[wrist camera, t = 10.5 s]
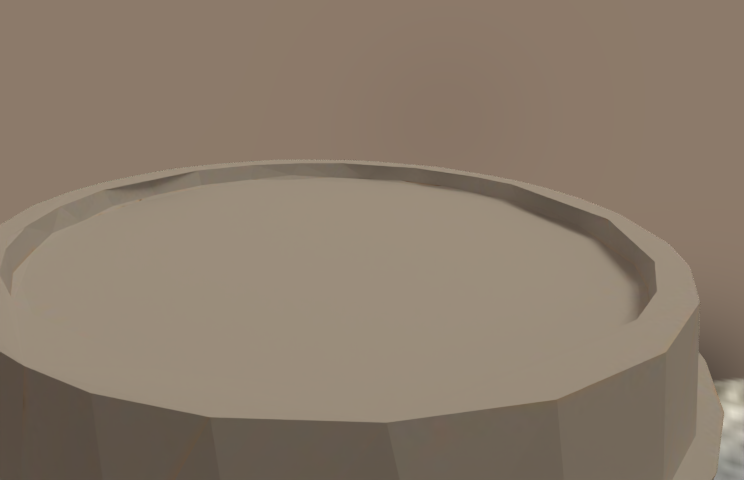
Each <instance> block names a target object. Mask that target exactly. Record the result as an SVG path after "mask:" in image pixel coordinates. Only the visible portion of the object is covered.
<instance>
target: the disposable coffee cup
mask: <svg viewBox="0 0 744 480" xmlns="http://www.w3.org/2000/svg"><path fill="white" fill-rule="evenodd" d="M699 316H700V300H699V298H698V293H697V290H696V287H695V283H694V279H693V276H692V272H691V269H690V266H689V265H688V264H687V263H686V262H685V261H684V260H683V259H682V258H681V257H680V256H679V254H677V252H676V251H675V250H674V249H673V248H672V247H671V246H670V245H669V244H668V243H667V242H665V241H663V240H662V239H660V238H658V237H657V236H655V235H653V234H652V233H650V232H648V231H647V230H645V229H643V228H642V227H640V226H638V225H637V224H635V223H633V222H632V221H630V220H628V219H627V218H625V217H624V216H622V215H620V214H619V213H616V212H613V211H611V210H608V209H606V208H603V207H601V206H598V205H596V204H593V203H591V202H588V201H585V200H583V199H580V198H577V197H574V196H571V195H567V194H564V193H561V192H558V191H554V190H551V189H547V188H544V187H540V186H537V185H532V184H528V183H524V182H520V181H516V180H511V179H506V178H501V177H495V176H489V175H483V174H478V173H472V172H466V171H459V170H453V169H447V168H441V167H430V166H420V165H410V164H399V163H387V162H371V161H357V160H356V161H355V160H268V161H252V162H238V163H225V164H212V165H202V166H194V167H186V168H177V169H169V170H164V171H159V172H154V173H147V174H142V175H137V176H132V177H128V178H123V179H117V180H113V181H107V182H103V183H100V184H96V185H92V186H89V187H85V188H82V189H78V190H75V191H71V192H68V193H66V194H63V195H60V196H57V197H55V198H52V199H50V200H47V201H44V202H41V203H39V204H36V205H33V206H31V207H30V208H28V209H26V210H24V211H23V212H21V213H19V214H18V215H16V216H14V217H13V218H11V219H9V220H7V221H6V222H4V223H2V224H0V480H713V479H714V477H715V475H716V473H717V467H718V459H719V451H720V442H721V434H722V426H723V418H724V411H723V408H722V405H721V403H720V400H719V397H718V394H717V392H716V389H715V386H714V383H713V380H712V378H711V375H710V372H709V370H708V367H707V364H706V361H705V360H704V358H703V357H702V356H701V355H700V353H699V352H698V351H699V318H700V317H699Z"/></svg>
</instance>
